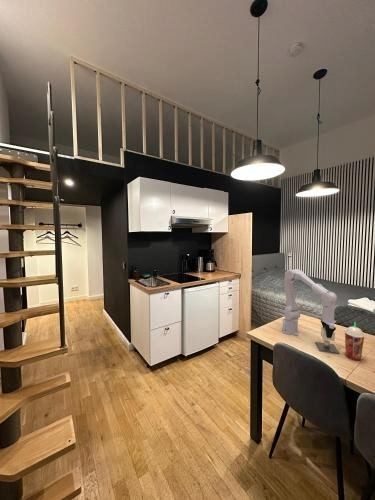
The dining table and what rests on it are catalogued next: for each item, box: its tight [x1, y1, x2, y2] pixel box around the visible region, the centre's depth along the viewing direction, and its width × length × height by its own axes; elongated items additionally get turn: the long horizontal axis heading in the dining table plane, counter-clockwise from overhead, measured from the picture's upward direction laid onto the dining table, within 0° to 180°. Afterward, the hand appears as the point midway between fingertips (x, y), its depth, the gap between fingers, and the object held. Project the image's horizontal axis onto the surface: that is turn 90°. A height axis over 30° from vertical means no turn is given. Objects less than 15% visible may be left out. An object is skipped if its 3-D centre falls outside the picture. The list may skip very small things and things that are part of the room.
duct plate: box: [314, 340, 340, 355], centre depth 125 cm, size 10×10×4 cm
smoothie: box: [344, 321, 365, 361], centre depth 115 cm, size 8×8×20 cm
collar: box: [320, 326, 336, 342], centre depth 124 cm, size 6×6×5 cm
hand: (327, 335), depth 124 cm, fingers closed on collar, 6 cm apart
